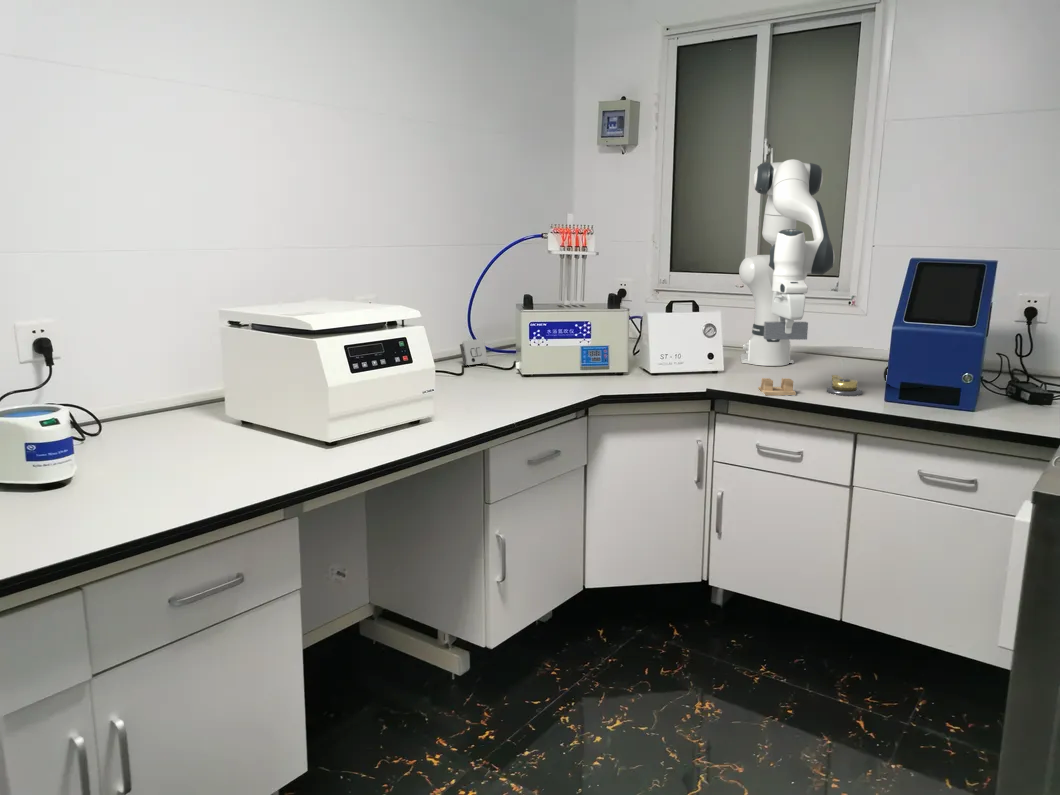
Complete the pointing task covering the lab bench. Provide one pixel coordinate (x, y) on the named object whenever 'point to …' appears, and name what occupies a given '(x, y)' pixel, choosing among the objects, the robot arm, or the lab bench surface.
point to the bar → (777, 331)
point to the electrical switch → (473, 352)
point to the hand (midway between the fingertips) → (785, 332)
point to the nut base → (844, 392)
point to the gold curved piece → (843, 383)
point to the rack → (783, 390)
